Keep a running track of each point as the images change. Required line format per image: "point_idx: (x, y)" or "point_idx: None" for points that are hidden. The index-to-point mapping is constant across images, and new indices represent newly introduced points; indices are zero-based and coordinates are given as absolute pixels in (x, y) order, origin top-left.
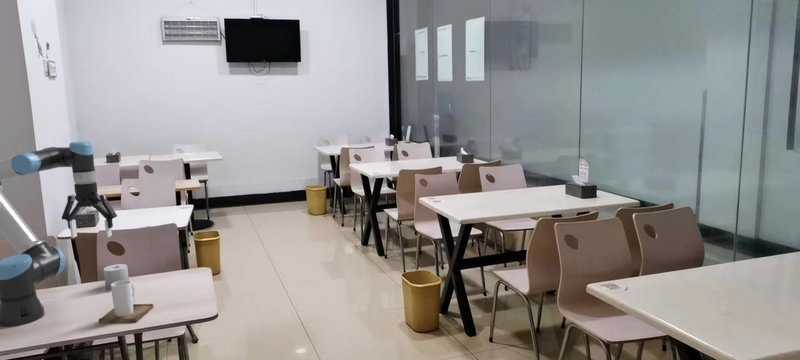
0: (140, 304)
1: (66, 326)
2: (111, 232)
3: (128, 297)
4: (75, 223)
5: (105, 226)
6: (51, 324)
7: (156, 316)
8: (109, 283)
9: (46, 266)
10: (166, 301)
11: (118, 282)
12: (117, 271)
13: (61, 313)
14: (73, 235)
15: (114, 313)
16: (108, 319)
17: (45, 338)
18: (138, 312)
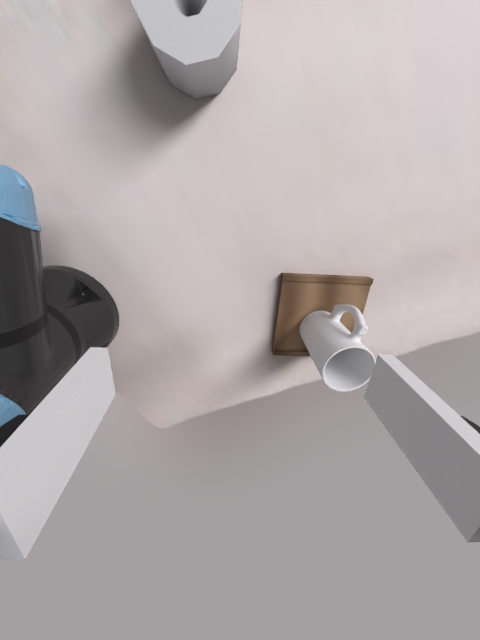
0: (342, 280)
1: (210, 360)
2: (406, 369)
3: (351, 357)
4: (38, 448)
5: (420, 471)
6: (171, 349)
7: (382, 327)
8: (186, 85)
9: (23, 309)
10: (395, 237)
11: (335, 352)
12: (220, 57)
13: (151, 292)
14: (107, 402)
15: (294, 324)
16: (294, 355)
17: (201, 403)
18: (347, 323)
